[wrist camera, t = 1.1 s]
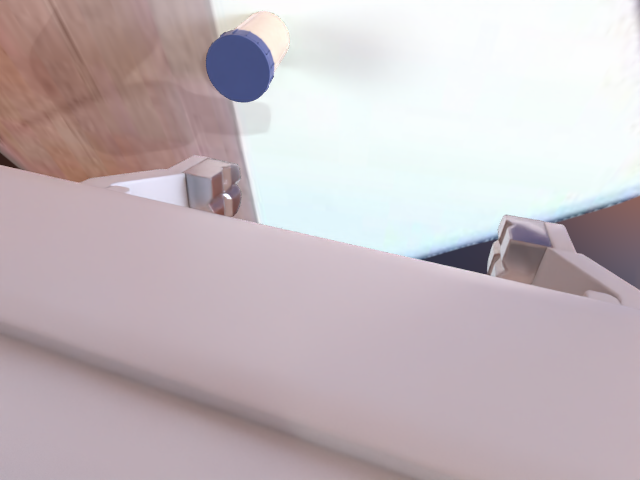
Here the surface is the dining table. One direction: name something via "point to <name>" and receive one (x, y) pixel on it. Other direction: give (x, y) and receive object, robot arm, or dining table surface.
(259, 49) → the lid
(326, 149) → the dining table surface
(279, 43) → the beige cylinder
